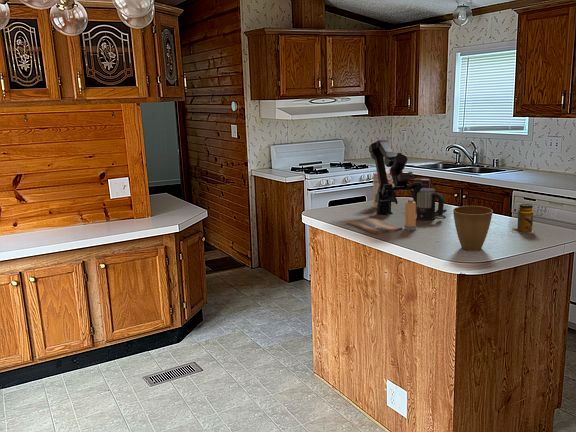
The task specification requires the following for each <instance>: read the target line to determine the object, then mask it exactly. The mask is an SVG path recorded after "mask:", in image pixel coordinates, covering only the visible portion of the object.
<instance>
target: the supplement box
mask: <svg viewBox="0 0 576 432" xmlns="http://www.w3.org/2000/svg"><path fill="white" fill-rule="evenodd" d="M413 182H421V183H422V188H431V178H414V179H413V181H412V183H413ZM412 200H413V199H412ZM413 201H414V200H413ZM416 209H417V201H416Z"/></svg>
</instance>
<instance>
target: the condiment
mask: <svg viewBox="0 0 576 432" xmlns="http://www.w3.org/2000/svg"><path fill="white" fill-rule="evenodd" d="M517 214H518V215H517V227H516V228H515V227H512V228H511V231H512V233H516V234H517V233H518V234H519V233H521V234H534V231H533V223H534V211H533V204H530V203H521V204H520V205H519V209H518V213H517Z"/></svg>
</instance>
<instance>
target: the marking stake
mask: <svg viewBox="0 0 576 432" xmlns="http://www.w3.org/2000/svg"><path fill="white" fill-rule="evenodd" d="M404 202H405V203H404V204H405V205H404V212H405V215H404V216H405V217H404V219H405V220H404V221H405V222H404V230H405V231H407V230H408V231H407V232H409V230H412V231H417V223H416V221H417V218H416V217H417V208H416V202H414V201H413V198H412V199H407V201H404Z"/></svg>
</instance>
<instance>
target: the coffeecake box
mask: <svg viewBox="0 0 576 432" xmlns="http://www.w3.org/2000/svg"><path fill="white" fill-rule="evenodd" d="M386 174H387V180H388V183H389V184H392V186H394V184H393V183H392V181H393V179H392V176H391V175H390V169H386ZM372 177H373V179H372V181H373V182H372V185H373V190H372V191H373V192H372V195H373V196H372V197H373V198H372V199H373V200H372V201H373V204H372V205H373V207H372V208H375V209H377V205H378V203H377V202H376V201H375V197H376V194H377V190H378V187H379V181H378V175H377V171H376V172H373V176H372ZM394 204H395V202H391V206H392V205H394Z"/></svg>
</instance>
